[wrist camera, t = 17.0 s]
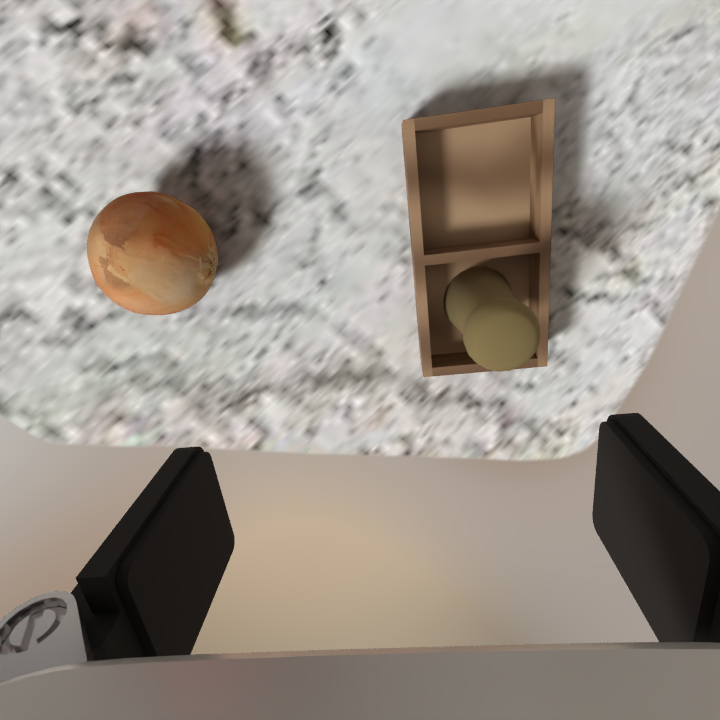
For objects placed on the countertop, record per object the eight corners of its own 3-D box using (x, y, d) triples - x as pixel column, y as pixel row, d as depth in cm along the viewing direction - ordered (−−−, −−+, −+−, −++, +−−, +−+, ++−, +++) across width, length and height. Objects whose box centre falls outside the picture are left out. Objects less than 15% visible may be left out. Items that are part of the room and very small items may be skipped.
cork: (491, 252, 39) (528, 281, 29) (524, 310, 41) (569, 355, 31) (430, 290, 41) (444, 330, 31) (464, 344, 42) (487, 399, 32)
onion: (243, 295, 43) (203, 329, 34) (141, 301, 44) (75, 335, 35) (224, 185, 40) (174, 190, 30) (114, 193, 40) (32, 200, 31)
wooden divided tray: (401, 125, 37) (402, 120, 33) (537, 105, 36) (555, 98, 32) (420, 359, 44) (423, 377, 41) (533, 348, 43) (547, 366, 40)
